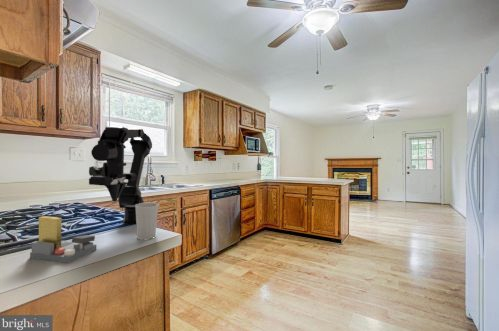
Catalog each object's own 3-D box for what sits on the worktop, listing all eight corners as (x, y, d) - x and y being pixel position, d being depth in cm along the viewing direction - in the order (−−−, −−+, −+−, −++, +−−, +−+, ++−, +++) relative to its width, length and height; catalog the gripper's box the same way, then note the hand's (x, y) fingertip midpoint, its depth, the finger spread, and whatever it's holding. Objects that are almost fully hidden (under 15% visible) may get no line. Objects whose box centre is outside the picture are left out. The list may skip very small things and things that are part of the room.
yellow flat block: (45, 246, 73) (45, 215, 73) (62, 249, 72) (62, 217, 72) (37, 250, 71) (37, 217, 70) (54, 252, 70) (55, 219, 69)
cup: (141, 242, 85) (142, 208, 84) (130, 237, 89) (131, 204, 89) (162, 236, 91) (163, 205, 90) (150, 232, 96) (151, 201, 95)
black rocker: (85, 239, 77) (86, 235, 78) (94, 240, 77) (95, 236, 77) (71, 242, 72) (72, 237, 73) (81, 243, 72) (81, 238, 72)
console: (62, 245, 79) (62, 230, 79) (96, 249, 77) (96, 234, 77) (30, 257, 70) (30, 241, 69) (68, 263, 68) (68, 246, 67)
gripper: (113, 158, 103) (113, 195, 103) (75, 159, 84) (74, 204, 85) (137, 160, 101) (137, 197, 102) (104, 161, 82) (103, 207, 83)
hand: (114, 201), depth 93 cm, fingers closed
